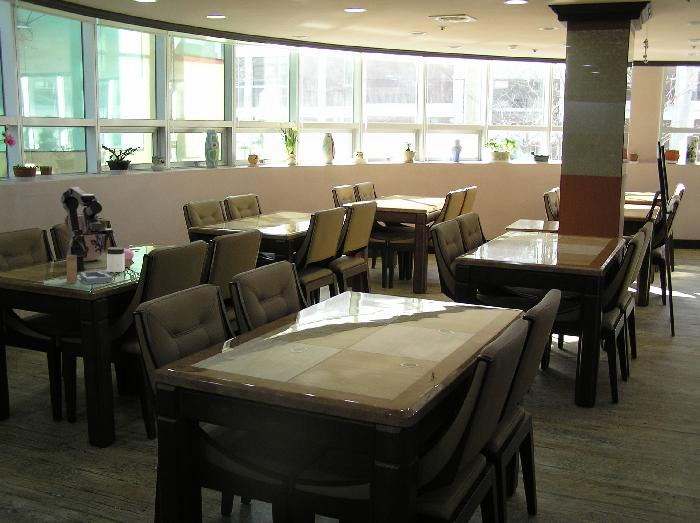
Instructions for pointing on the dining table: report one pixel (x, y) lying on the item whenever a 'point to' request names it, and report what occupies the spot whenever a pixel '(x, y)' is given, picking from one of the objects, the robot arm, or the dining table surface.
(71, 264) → the tan tall block
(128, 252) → the cupcake
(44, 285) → the dining table surface
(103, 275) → the grey shallow tray
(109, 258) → the jar
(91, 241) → the ceramic pitcher
